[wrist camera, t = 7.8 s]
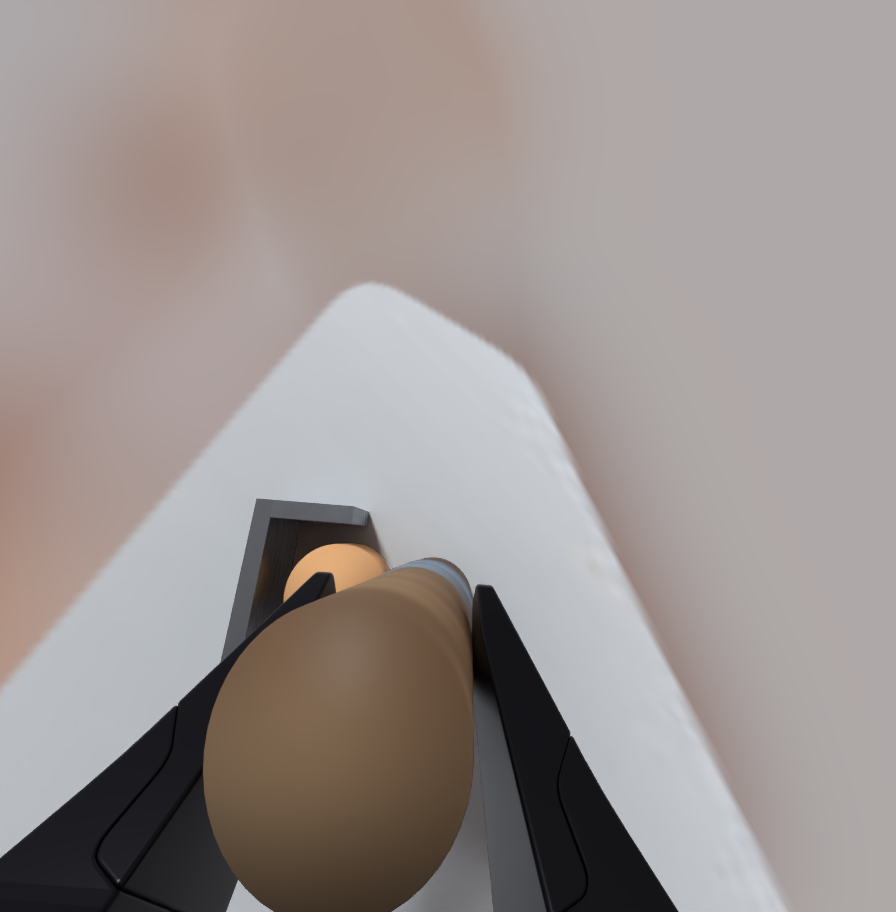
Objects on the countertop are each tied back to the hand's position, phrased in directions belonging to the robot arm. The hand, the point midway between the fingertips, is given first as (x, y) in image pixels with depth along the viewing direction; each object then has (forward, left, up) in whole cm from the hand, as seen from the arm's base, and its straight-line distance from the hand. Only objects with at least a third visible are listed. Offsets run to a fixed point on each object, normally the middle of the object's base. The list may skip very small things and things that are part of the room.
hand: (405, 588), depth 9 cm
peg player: (-1, -1, -7) cm, 7 cm away
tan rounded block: (-1, +3, -8) cm, 8 cm away
